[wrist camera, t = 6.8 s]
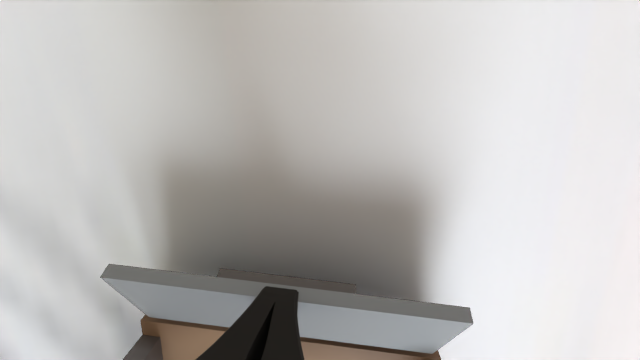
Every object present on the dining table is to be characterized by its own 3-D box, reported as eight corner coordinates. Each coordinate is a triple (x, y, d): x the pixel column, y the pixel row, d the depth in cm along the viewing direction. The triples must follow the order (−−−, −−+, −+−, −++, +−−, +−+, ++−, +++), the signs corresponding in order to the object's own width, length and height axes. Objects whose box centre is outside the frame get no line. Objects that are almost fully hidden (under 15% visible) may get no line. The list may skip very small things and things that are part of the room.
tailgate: (432, 353, 15) (473, 323, 11) (148, 316, 16) (100, 277, 12) (428, 328, 16) (466, 292, 12) (159, 294, 17) (117, 251, 13)
